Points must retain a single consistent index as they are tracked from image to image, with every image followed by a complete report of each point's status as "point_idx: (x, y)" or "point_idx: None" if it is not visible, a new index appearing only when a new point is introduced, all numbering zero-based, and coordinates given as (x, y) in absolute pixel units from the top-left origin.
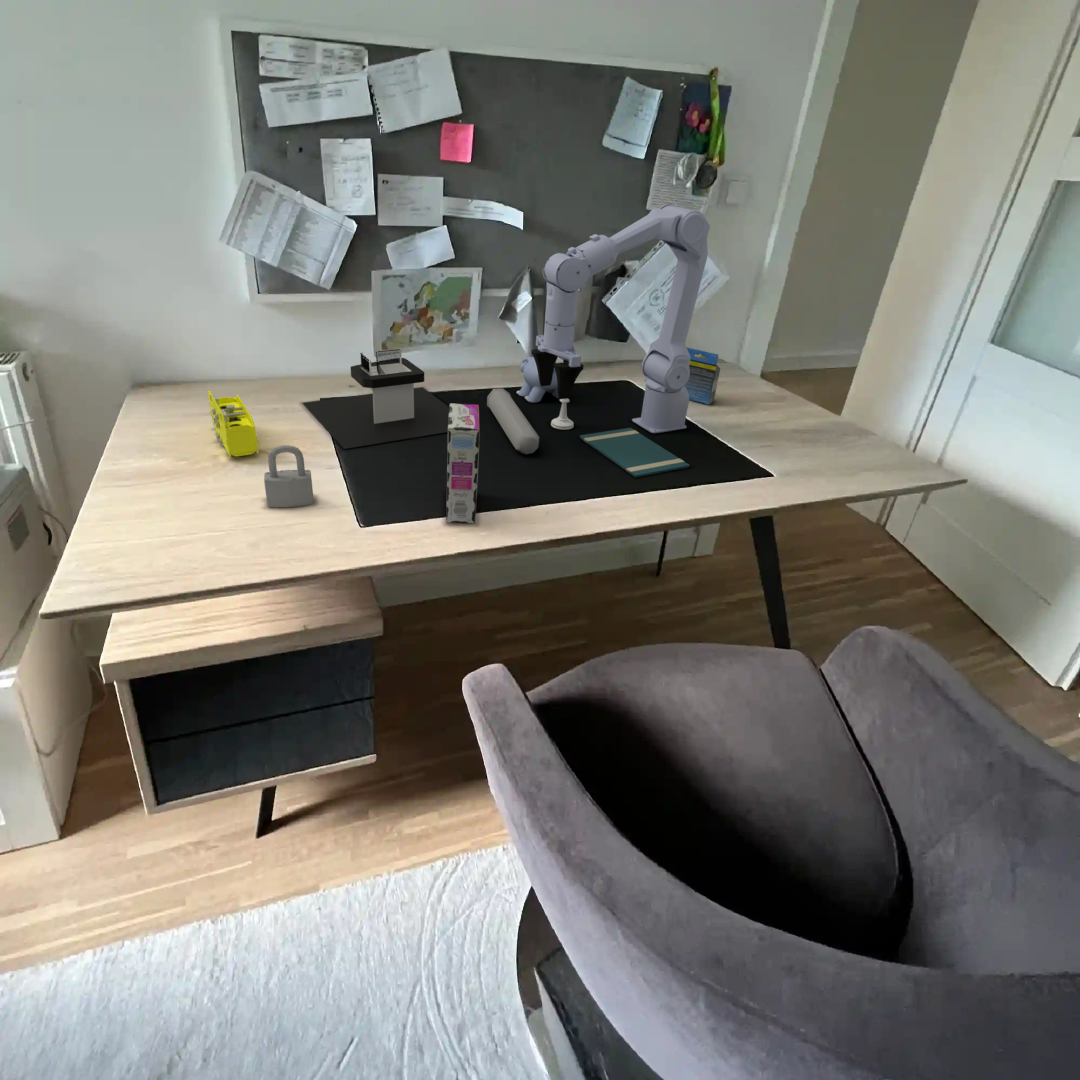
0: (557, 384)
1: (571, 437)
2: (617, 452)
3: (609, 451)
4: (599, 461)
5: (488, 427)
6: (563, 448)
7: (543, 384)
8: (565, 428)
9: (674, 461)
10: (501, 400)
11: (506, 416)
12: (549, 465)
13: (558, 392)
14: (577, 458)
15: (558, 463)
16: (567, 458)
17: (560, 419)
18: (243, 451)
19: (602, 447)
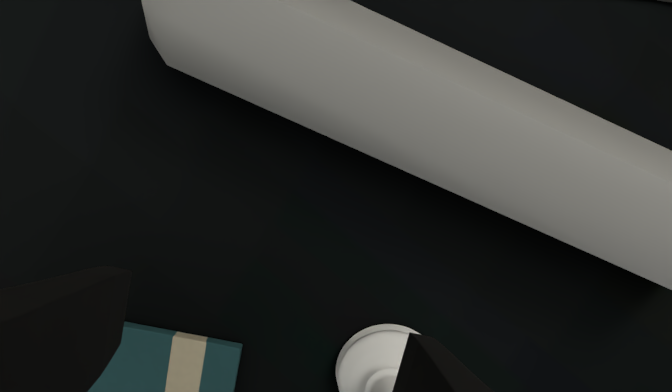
0: (60, 295)
1: (263, 317)
2: None
3: None
4: (5, 248)
5: (568, 60)
6: (185, 208)
7: (407, 353)
8: (342, 353)
9: None
10: (652, 176)
11: (472, 73)
12: (64, 27)
13: (86, 273)
14: (71, 189)
15: (64, 78)
16: (90, 150)
17: (382, 370)
18: None
19: None
